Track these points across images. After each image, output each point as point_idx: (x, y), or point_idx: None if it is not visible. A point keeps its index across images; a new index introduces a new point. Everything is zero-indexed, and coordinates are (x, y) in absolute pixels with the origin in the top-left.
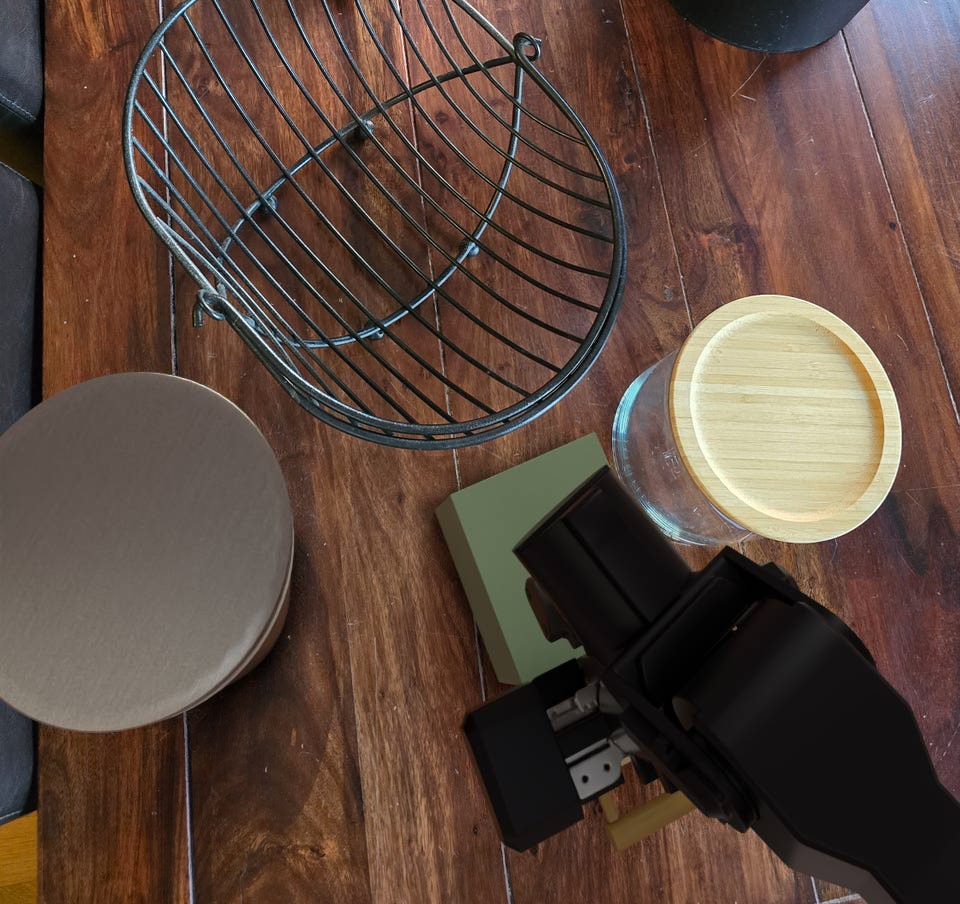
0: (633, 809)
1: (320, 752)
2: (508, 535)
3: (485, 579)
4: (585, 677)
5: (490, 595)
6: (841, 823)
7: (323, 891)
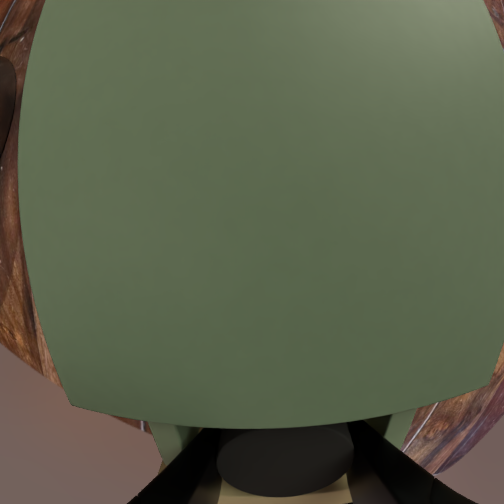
0: None
1: (9, 272)
2: (124, 23)
3: (24, 136)
4: (233, 433)
5: (19, 182)
6: None
7: (18, 357)
